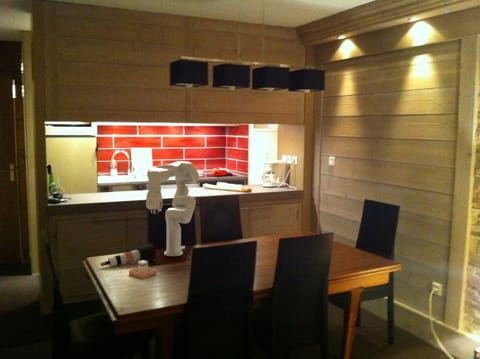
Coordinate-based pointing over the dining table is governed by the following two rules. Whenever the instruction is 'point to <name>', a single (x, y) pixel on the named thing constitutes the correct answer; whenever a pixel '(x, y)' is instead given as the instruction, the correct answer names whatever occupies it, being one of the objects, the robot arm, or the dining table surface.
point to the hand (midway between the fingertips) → (154, 219)
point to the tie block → (142, 266)
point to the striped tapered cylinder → (132, 256)
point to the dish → (135, 273)
